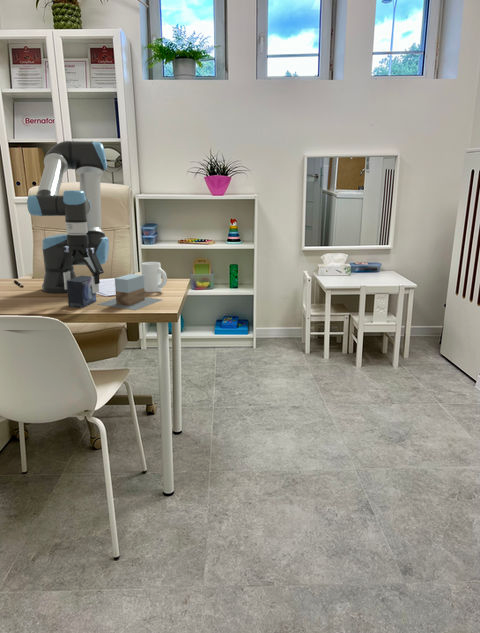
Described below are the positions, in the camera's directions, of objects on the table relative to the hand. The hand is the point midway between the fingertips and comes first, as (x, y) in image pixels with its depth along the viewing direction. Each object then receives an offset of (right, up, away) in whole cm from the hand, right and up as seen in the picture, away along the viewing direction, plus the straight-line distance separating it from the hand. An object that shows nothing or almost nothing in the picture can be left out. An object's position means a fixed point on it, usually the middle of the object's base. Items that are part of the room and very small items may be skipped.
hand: (81, 290), depth 181 cm
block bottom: (+17, -4, +6) cm, 19 cm away
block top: (+17, +1, +4) cm, 18 cm away
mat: (+17, -4, +6) cm, 19 cm away
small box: (0, -6, +2) cm, 6 cm away
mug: (+23, +1, +25) cm, 35 cm away
